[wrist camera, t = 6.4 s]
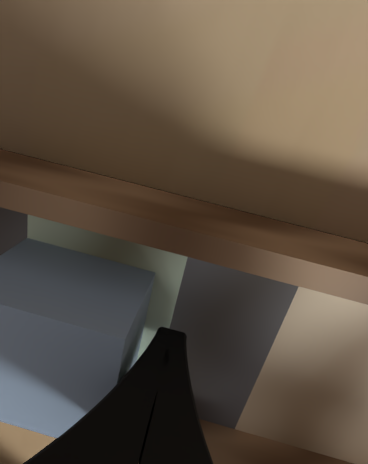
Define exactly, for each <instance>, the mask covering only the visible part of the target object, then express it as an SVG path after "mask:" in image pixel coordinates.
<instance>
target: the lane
mask: <svg viewBox="0 0 368 464" xmlns="http://www.w3.org/2000/svg"><path fill="white" fill-rule="evenodd" d="M26 238H30V239H33V240H37V241H41V242H44V243H48V244H52V245H56V246H59V247H63V248H67V249H70V250H74V251H78V252H81V253H85V254H89V255H93V256H96V257H100V258H104V259H107V260H111V261H115V262H118V263H122V264H126V265H129V266H133V267H137V268H140V269H144V270H148V271H152V272H155V278H154V282H153V287H152V292H151V296H150V301H149V306H148V310H147V315H146V320H145V325H144V329H143V334H142V339H141V343H140V348H139V353H138V358H137V360H138V359H139V358H140V356H141V355H142V354H143V352H144V351H145V350H146V348H147V347H148V345H149V344H150V342H151V341H152V339H153V338H154V336H155V334H156V332H157V330H158V328H160V327H166V328H169V329H173V330H177V331H180V332H184V333H185V334H186V336H187V340H186V347H187V360H188V368H189V374H190V380H191V386H192V391H193V396H194V400H195V404H196V409H197V413H198V416H199V420H200V424H201V427H202V431H203V434H204V437H205V440H206V444H207V446H208V449H209V452H210V455H211V458H212V461H213V464H368V244H367V243H363V242H359V241H356V240H352V239H348V238H344V237H340V236H336V235H332V234H328V233H324V232H321V231H317V230H313V229H309V228H305V227H301V226H297V225H293V224H289V223H286V222H282V221H278V220H274V219H270V218H266V217H262V216H258V215H254V214H251V213H247V212H243V211H239V210H235V209H231V208H227V207H223V206H219V205H216V204H212V203H208V202H204V201H200V200H196V199H192V198H188V197H184V196H181V195H177V194H173V193H169V192H165V191H161V190H157V189H153V188H149V187H146V186H142V185H138V184H134V183H130V182H126V181H122V180H118V179H114V178H111V177H107V176H103V175H99V174H95V173H91V172H87V171H83V170H79V169H76V168H72V167H68V166H64V165H60V164H56V163H52V162H48V161H45V160H41V159H37V158H33V157H29V156H25V155H21V154H17V153H13V152H10V151H6V150H2V149H0V255H2V254H3V253H5V252H6V251H8V250H10V249H11V248H13V247H14V246H16V245H17V244H19V243H20V242H22V241H23V240H25V239H26Z"/></svg>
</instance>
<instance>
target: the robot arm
mask: <svg viewBox="0 0 368 464" xmlns="http://www.w3.org/2000/svg"><path fill="white" fill-rule="evenodd" d="M186 340H187V336H186V334H185V333H184V332H180V331H177V330H173V329H169V328H166V327H160V328H158V330H157V332H156V334H155V336H154V338H153V339H152V341H151V342H150V344H149V345H148V347H147V348H146V350H145V351H144V352H143V354H142V355H141V356H140V358H139V359H138V360H137V361H136V363H135V364H134V365H133V366H132V368H131V369H130V370H129V371H128V372H127V373H126V375H125V376H124V377H123V378H122V379H121V380H120V381H119V382H118V383H117V385H116V386H115V387H114V388H113V389H112V390H111V391H110V392H109V393H108V394H107V395H106V396H105V397H104V398H103V399H102V400H101V401H100V402H99V403H98V404H97V405H96V406H95V407H93V408H92V409H91V410H90V411H89V412H88V413H87V414H86V415H84V416H83V417H82V418H81V419H80V420H79V421H78V422H77V423H75V424H74V425H73V426H72V427H71V428H69V429H68V430H67V431H66V432H65V433H63V434H62V435H61V436H59V437H58V438H57V439H55V440H54V441H53V442H52V443H50V444H49V445H48V446H46V447H45V448H44V449H42V450H41V451H40V452H38V453H37V454H36V455H34V456H33V457H32V458H30V459H29V460H28V461H26V462H25V463H23V464H213V461H212V458H211V455H210V452H209V449H208V446H207V444H206V440H205V437H204V434H203V431H202V427H201V424H200V420H199V416H198V413H197V409H196V404H195V400H194V396H193V391H192V386H191V380H190V374H189V368H188V360H187V347H186ZM138 462H139V463H138Z"/></svg>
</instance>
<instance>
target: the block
mask: <svg viewBox="0 0 368 464" xmlns="http://www.w3.org/2000/svg"><path fill="white" fill-rule="evenodd" d="M154 278H155V272H152V271H148V270H144V269H140V268H137V267H133V266H129V265H126V264H122V263H118V262H115V261H111V260H107V259H104V258H100V257H96V256H93V255H89V254H85V253H81V252H78V251H74V250H70V249H67V248H63V247H59V246H56V245H52V244H48V243H44V242H41V241H37V240H33V239H30V238H26V239H25V240H23V241H22V242H20V243H19V244H17V245H16V246H14V247H13V248H11V249H10V250H8V251H6V252H5V253H3V254H2V255H0V421H1V422H4V423H8V424H11V425H14V426H18V427H21V428H24V429H28V430H31V431H34V432H38V433H41V434H44V435H48V436H51V437H54V438H58V437H59V436H61V435H62V434H63V433H65V432H66V431H67V430H68V429H69V428H71V427H72V426H73V425H74V424H75V423H77V422H78V421H79V420H80V419H81V418H82V417H83V416H84V415H86V414H87V413H88V412H89V411H90V410H91V409H92V408H93V407H95V406H96V405H97V404H98V403H99V402H100V401H101V400H102V399H103V398H104V397H105V396H106V395H107V394H108V393H109V392H110V391H111V390H112V389H113V388H114V387H115V386H116V385H117V383H118V382H119V381H120V380H121V379H122V378H123V377H124V376H125V375H126V373H127V372H128V371H129V370H130V369H131V368H132V366H133V365H134V364H135V363H136V361H137V358H138V353H139V348H140V343H141V339H142V334H143V329H144V325H145V320H146V315H147V310H148V306H149V301H150V296H151V292H152V287H153V282H154Z"/></svg>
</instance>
